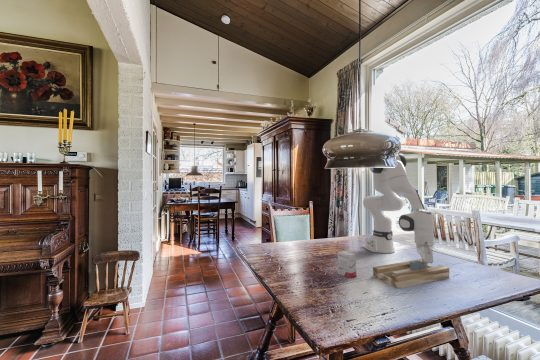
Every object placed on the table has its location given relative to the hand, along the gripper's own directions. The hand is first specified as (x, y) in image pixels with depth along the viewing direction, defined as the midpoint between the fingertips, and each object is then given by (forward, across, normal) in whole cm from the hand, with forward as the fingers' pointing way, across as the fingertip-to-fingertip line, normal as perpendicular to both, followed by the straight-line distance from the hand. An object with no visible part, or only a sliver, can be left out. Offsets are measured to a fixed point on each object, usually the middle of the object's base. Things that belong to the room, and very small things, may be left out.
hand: (424, 266), depth 134 cm
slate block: (+1, -3, +4) cm, 5 cm away
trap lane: (+4, -6, +8) cm, 11 cm away
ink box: (+4, -13, +39) cm, 41 cm away
